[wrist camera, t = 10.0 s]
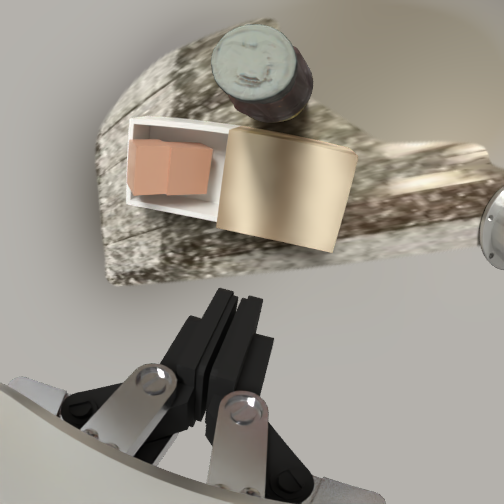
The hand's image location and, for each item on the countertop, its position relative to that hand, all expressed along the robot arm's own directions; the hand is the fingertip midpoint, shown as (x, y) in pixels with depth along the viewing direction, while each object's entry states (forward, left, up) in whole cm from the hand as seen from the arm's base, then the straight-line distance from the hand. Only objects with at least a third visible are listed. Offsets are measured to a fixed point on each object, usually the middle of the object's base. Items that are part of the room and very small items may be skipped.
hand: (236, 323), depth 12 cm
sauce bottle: (+2, -9, -26) cm, 27 cm away
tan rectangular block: (0, 0, -25) cm, 25 cm away
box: (+11, 0, -25) cm, 28 cm away
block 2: (+9, 0, -21) cm, 23 cm away
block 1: (+13, 0, -21) cm, 25 cm away
